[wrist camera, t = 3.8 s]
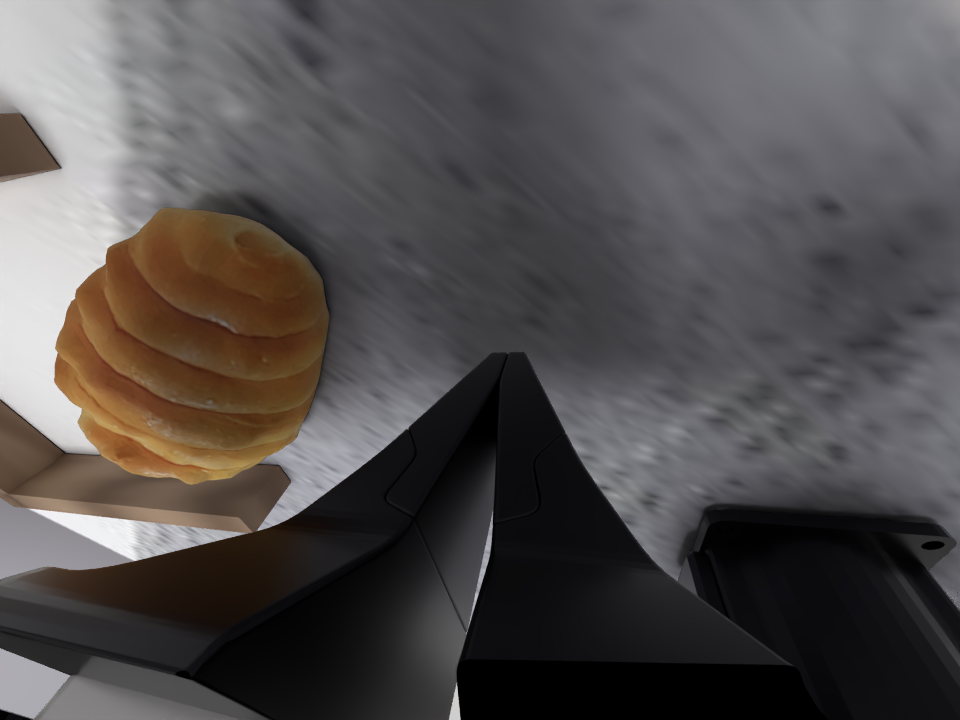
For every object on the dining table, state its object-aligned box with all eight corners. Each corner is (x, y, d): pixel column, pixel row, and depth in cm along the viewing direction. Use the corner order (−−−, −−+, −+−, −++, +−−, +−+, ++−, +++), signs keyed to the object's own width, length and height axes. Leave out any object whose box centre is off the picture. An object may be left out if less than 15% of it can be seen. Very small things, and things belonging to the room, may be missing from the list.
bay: (19, 113, 9) (-144, 116, 7) (291, 482, 17) (254, 533, 15) (-270, 198, 12) (-431, 216, 10) (67, 466, 20) (14, 506, 18)
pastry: (158, 121, 8) (-70, 134, 5) (397, 299, 10) (329, 385, 7) (131, 352, 13) (8, 425, 10) (292, 443, 15) (227, 528, 12)
